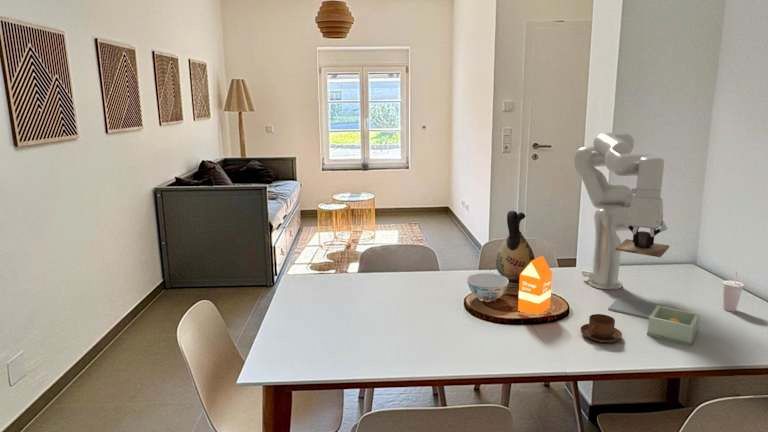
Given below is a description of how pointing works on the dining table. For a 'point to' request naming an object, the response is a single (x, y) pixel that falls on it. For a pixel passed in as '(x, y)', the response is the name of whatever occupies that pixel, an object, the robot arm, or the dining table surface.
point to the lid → (642, 246)
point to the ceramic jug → (514, 251)
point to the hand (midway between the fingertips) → (642, 245)
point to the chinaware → (487, 285)
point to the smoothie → (731, 294)
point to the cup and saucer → (601, 329)
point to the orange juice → (535, 287)
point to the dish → (673, 325)
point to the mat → (634, 306)
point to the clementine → (674, 320)
